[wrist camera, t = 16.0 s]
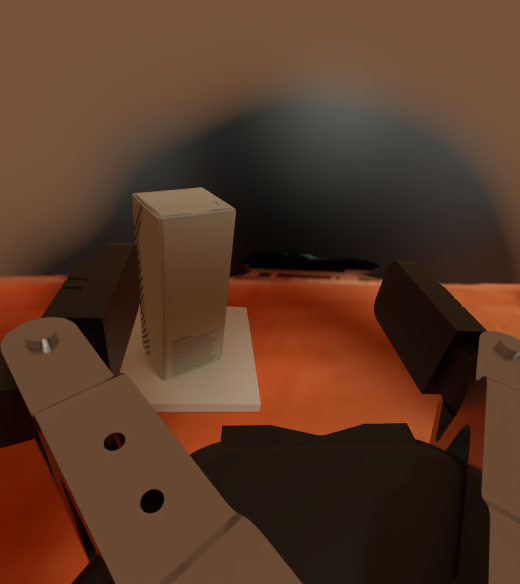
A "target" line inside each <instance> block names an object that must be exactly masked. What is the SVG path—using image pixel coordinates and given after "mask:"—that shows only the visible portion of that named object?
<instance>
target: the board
mask: <svg viewBox="0 0 520 584" xmlns="http://www.w3.org/2000/svg"><path fill="white" fill-rule="evenodd" d="M120 373H124V374H126V375H127V376H128V377H129V378H130V379H131V380H132V382H133V383H134V384H135V386H136V387H137V388H138V389H139V391H140V392H141V393H142V395H143V396H144V397H145V398H146V400H147V401H148V402H149V404H150V405H151V406H152V407H153V409H154V410H155V411H156V412H259V410H260V405H261V403H260V396H259V389H258V383H257V376H256V369H255V362H254V355H253V348H252V342H251V335H250V328H249V321H248V314H247V307H229V306H227V308H226V319H225V329H224V340H223V350H222V358H221V359H219V360H217V361H214V362H212V363H210V364H207V365H205V366H202V367H200V368H197V369H195V370H192V371H190V372H187V373H185V374H182V375H180V376H177V377H174V378H171V379H169V380H164V379H163V378H162V377H161V376H160V374H159V373H158V371H157V370H156V368H155V367H154V365H153V364H152V362H151V361H150V359H149V357H148V356H147V354H146V352H145V350H144V349H143V345H142V329H141V315H140V304H139V309H138V313H137V316H136V320H135V323H134V326H133V330H132V333H131V336H130V340H129V343H128V346H127V350H126V353H125V356H124V360H123V363H122V366H121V370H120ZM120 373H119V374H120Z"/></svg>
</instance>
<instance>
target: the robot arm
mask: <svg viewBox="0 0 520 584" xmlns="http://www.w3.org/2000/svg"><path fill="white" fill-rule="evenodd" d="M139 304H140V279H139V266H138V252H137V247H136V245H135V244H123V243H108V244H107V246H106V247H105V249H104V251H103V253H102V254H101V256H100V258H99V259H95V258H88V259H86V260H85V261H83V262H81V263H80V264H78V265H77V266H75V267H74V268H73V270H72V271H71V273H70V275H69V276H68V279H67V280H66V281H65V282H64V284H63V285H62V289H60V290H59V291H58V293H57V294H56V296H55V297H54V299H53V300H52V302H51V303H50V305H49V306H48V308H47V309H46V311H45V313H44V314H43V316H42V317H41V318H40V319H35V320H31V321H28V322H26V323H23V324H21V325H19V326H17V327H16V328H14V329H12V330H11V331H10V332H9V333H8V334H7V335H6V336H5V337H4V338H3V340H2V342H1V345H0V448H3V447H7V446H10V445H14V444H17V443H21V442H25V441H28V440H32V439H34V440H35V442H36V444H37V446H38V449H39V451H40V453H41V455H42V457H43V460H44V462H45V464H46V466H47V468H48V471H49V473H50V475H51V477H52V479H53V481H54V484H55V486H56V488H57V490H58V492H59V495H60V497H61V499H62V501H63V504H64V506H65V508H66V511H67V513H68V516H69V518H70V521H71V523H72V525H73V528H74V530H75V532H76V535H77V537H78V539H79V542H80V544H81V546H82V548H83V550H84V553H85V555H86V557H87V559H88V562H89V564H88V565H87V566H86V567H85V568H84V570H83V571H82V572H81V573H80V574H79V575H78V577H77V578H76V579H75V580H74V581H73V582H72V584H520V340H519V339H517V338H515V337H512V336H510V335H507V334H504V333H500V332H495V331H487V330H486V329H485V328H484V327H483V326H482V325H481V324H480V323H479V322H478V321H477V320H476V319H475V318H474V317H473V316H472V315H471V314H470V313H469V312H468V311H467V310H466V309H465V308H464V307H462V305H461V304H460V303H459V302H458V301H457V300H456V299H454V297H453V296H452V295H451V294H450V293H449V291H448V290H447V289H446V288H445V287H443V286H442V285H440V284H439V283H437V282H435V281H434V280H433V279H432V278H431V277H430V276H429V275H428V274H427V273H426V272H425V271H424V270H423V269H422V268H421V267H420V265H418V264H417V263H412V262H397V261H394V262H391V263H390V264H389V266H388V268H387V270H386V273H385V275H384V278H383V281H382V284H381V286H380V289H379V292H378V294H377V297H376V300H375V304H374V313H375V317H376V319H377V321H378V322H379V324H380V326H381V327H382V329H383V331H384V332H385V334H386V336H387V337H388V339H389V341H390V342H391V344H392V346H393V347H394V349H395V350H396V352H397V354H398V355H399V357H400V359H401V360H402V362H403V364H404V365H405V367H406V369H407V370H408V372H409V374H410V375H411V377H412V379H413V380H414V382H415V383H416V385H417V387H418V388H419V390H420V392H421V393H422V394H441V395H442V399H441V400H440V402H439V403H438V406H437V410H436V415H435V419H434V424H433V429H432V434H431V439H430V443H426V442H423V441H420V440H416V439H415V438H414V436H413V434H412V432H411V430H410V429H409V427H408V425H407V423H391V424H362V425H359V426H355V427H352V428H348V429H345V430H341V431H338V432H334V433H331V434H328V435H314V434H309V433H305V432H300V431H295V430H291V429H286V428H281V427H277V426H272V425H245V426H222V433H221V442H217V443H214V444H211V445H208V446H206V447H204V448H201V449H199V450H197V451H195V452H193V453H192V454H190V455H189V454H188V452H187V451H186V450H185V449H184V447H183V446H182V445H181V443H180V442H179V441H178V440H177V438H176V437H175V436H174V434H173V433H172V432H171V431H170V429H169V428H168V427H167V425H166V424H165V423H164V422H163V420H162V419H161V418H160V416H159V415H158V414H157V413H156V411H155V410H154V409H153V407H152V406H151V405H150V404H149V402H148V401H147V400H146V398H145V397H144V396H143V395H142V393H141V392H140V391H139V389H138V388H137V387H136V386H135V384H134V383H133V382H132V380H131V379H130V378H129V377H128V376H127V375H126V374H124V373H120V370H121V366H122V363H123V360H124V356H125V353H126V350H127V346H128V343H129V340H130V336H131V333H132V330H133V326H134V323H135V320H136V316H137V313H138V309H139ZM119 373H120V374H119Z"/></svg>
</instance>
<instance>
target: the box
mask: <svg viewBox="0 0 520 584" xmlns="http://www.w3.org/2000/svg"><path fill="white" fill-rule="evenodd" d="M133 210H134V211H133V212H134V228H135V244H136V247H137V252H138V266H139V279H140V315H141V329H142V345H143V349H144V350H145V352H146V354H147V356H148V357H149V359H150V361H151V362H152V364H153V365H154V367H155V368H156V370H157V371H158V373H159V374H160V376H161V377H162V378H163V379H164V380H169V379H171V378H174V377H177V376H180V375H182V374H185V373H187V372H190V371H192V370H195V369H197V368H200V367H202V366H205V365H207V364H210V363H212V362H214V361H217V360H219V359H221V358H222V350H223V340H224V329H225V319H226V308H227V297H228V286H229V276H230V264H231V254H232V244H233V234H234V224H235V214H236V210H235V209H234V208H233V207H232V206H230V205H228V204H227V203H225V202H224V201H222V200H221V199H219V198H217V197H216V196H214V195H213V194H211V193H210V192H208V191H207V190H205V189H203V188H191V189H181V190H169V191H158V192H146V193H134V194H133Z"/></svg>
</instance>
